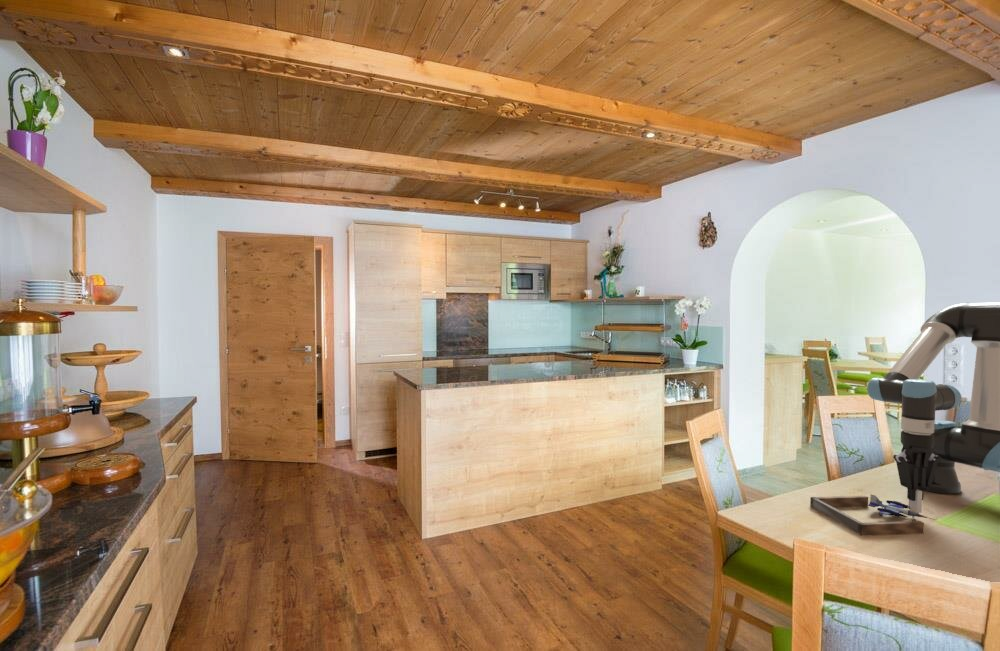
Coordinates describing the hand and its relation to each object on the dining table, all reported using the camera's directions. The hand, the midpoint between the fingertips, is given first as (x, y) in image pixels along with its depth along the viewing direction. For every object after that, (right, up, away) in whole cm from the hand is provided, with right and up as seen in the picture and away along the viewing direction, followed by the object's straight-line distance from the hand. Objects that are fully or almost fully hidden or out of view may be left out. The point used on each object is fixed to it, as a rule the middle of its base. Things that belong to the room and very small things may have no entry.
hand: (914, 510), depth 142 cm
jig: (-16, -2, -1) cm, 16 cm away
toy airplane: (-6, -2, 0) cm, 6 cm away
